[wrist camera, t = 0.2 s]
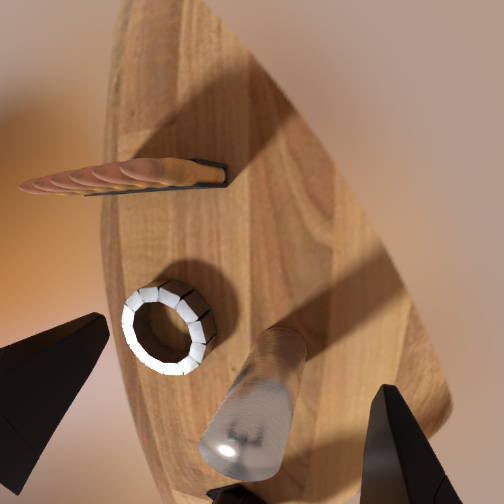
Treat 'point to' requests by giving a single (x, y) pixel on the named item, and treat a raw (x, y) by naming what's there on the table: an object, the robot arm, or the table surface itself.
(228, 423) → the silver tall cylinder
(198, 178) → the ammunition clip
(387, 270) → the table surface
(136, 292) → the ring
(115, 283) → the table surface
